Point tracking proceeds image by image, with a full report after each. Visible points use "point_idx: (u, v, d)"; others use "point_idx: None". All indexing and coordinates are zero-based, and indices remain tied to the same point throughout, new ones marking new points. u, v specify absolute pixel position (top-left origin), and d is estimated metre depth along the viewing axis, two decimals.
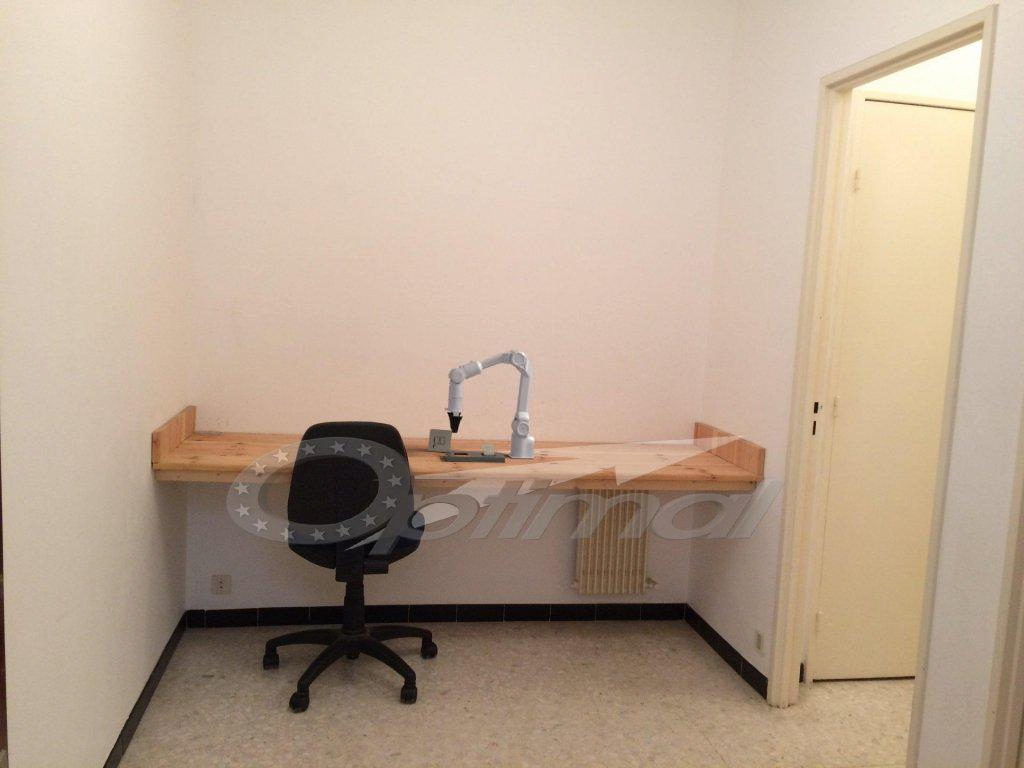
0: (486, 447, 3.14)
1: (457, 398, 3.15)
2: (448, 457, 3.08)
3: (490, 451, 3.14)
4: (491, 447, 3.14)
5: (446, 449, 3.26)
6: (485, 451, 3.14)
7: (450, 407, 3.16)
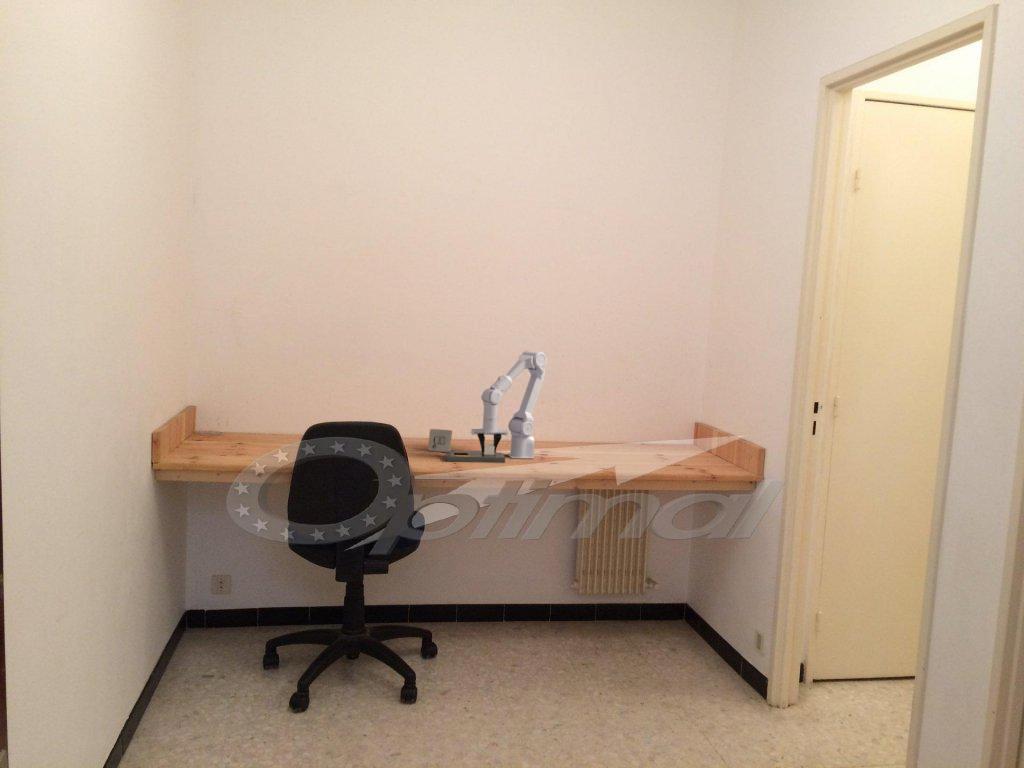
0: (486, 447, 3.14)
1: (483, 418, 3.13)
2: (448, 457, 3.08)
3: (490, 451, 3.14)
4: (491, 447, 3.14)
5: (446, 449, 3.26)
6: (485, 451, 3.14)
7: None
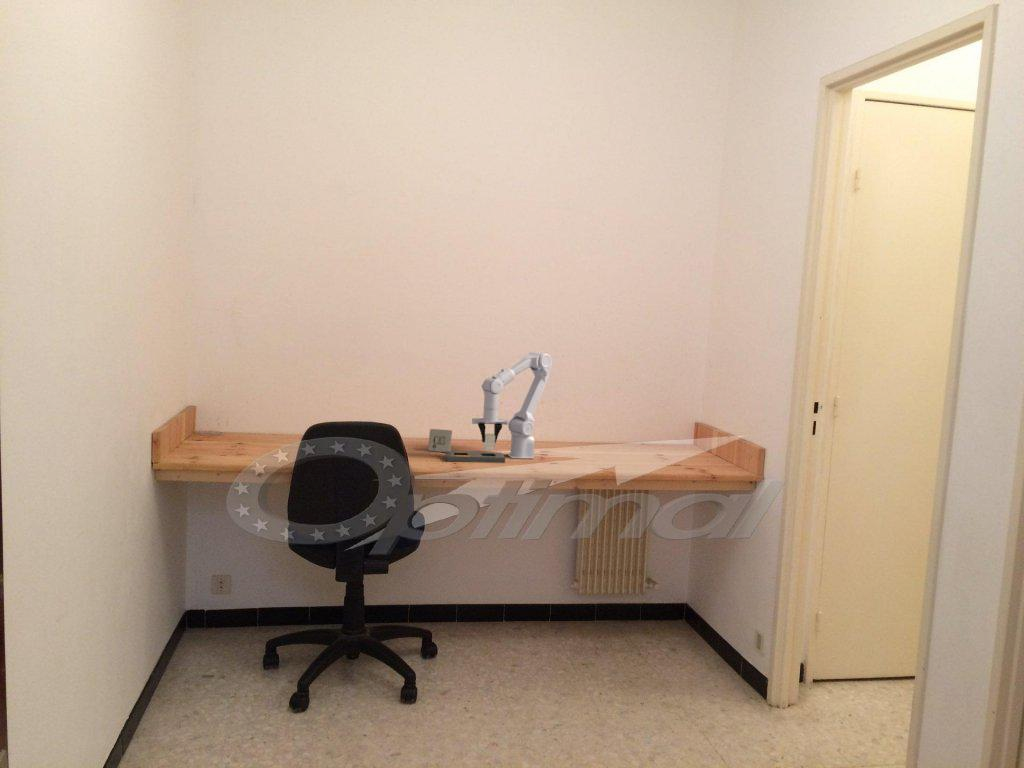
0: (487, 436, 3.13)
1: (484, 408, 3.13)
2: (448, 457, 3.08)
3: (491, 440, 3.14)
4: (492, 436, 3.13)
5: (446, 449, 3.26)
6: (486, 440, 3.13)
7: None
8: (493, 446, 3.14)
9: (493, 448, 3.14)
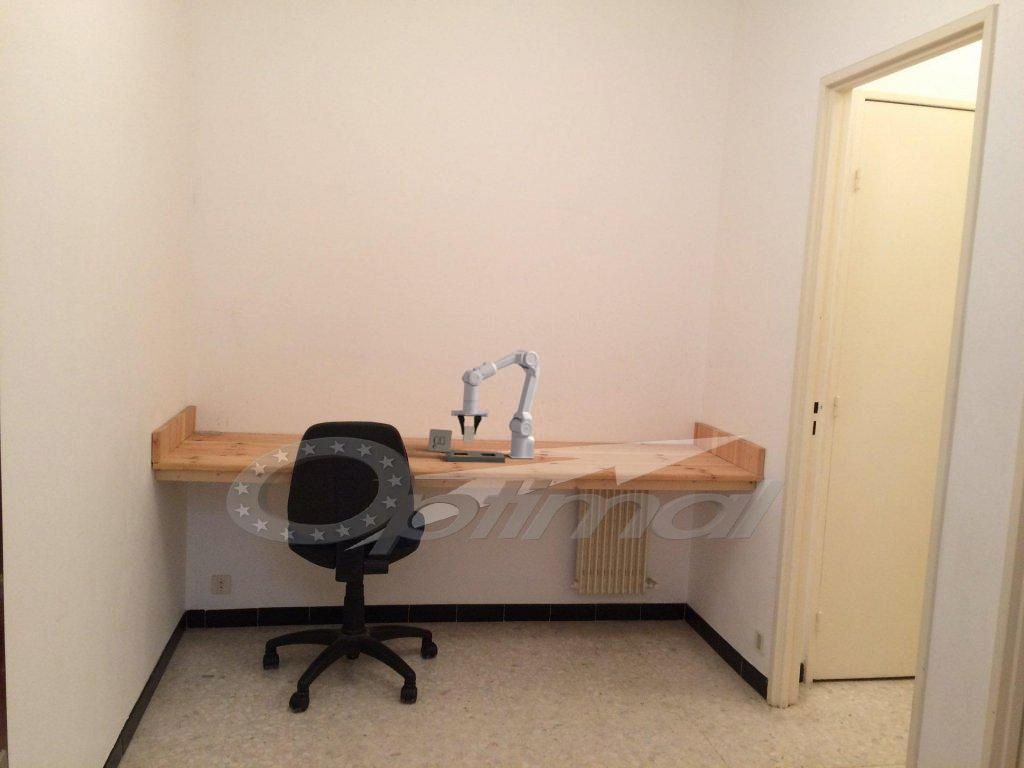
0: (466, 429, 3.11)
1: (463, 400, 3.11)
2: (448, 457, 3.08)
3: (470, 433, 3.12)
4: (471, 429, 3.11)
5: (446, 449, 3.26)
6: (465, 433, 3.11)
7: None
8: (472, 439, 3.12)
9: (472, 441, 3.12)
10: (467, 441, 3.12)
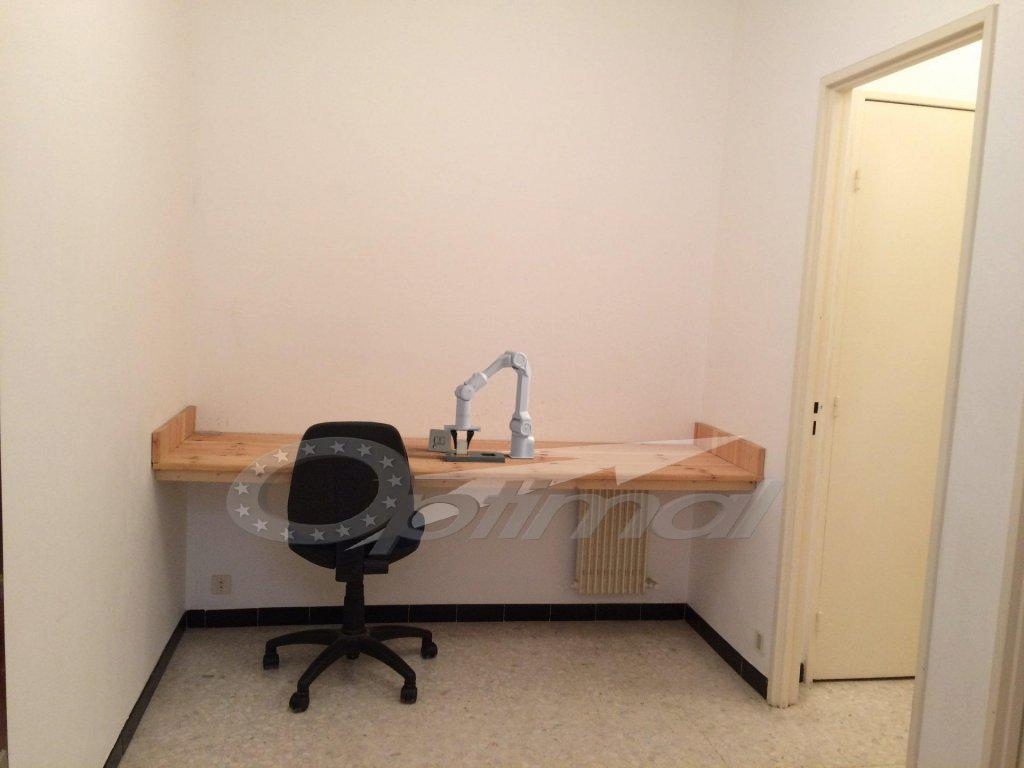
0: (459, 443, 3.11)
1: (456, 414, 3.11)
2: (448, 457, 3.08)
3: (463, 447, 3.12)
4: (464, 443, 3.12)
5: (446, 449, 3.26)
6: (458, 447, 3.11)
7: None
8: (465, 453, 3.12)
9: None
10: None
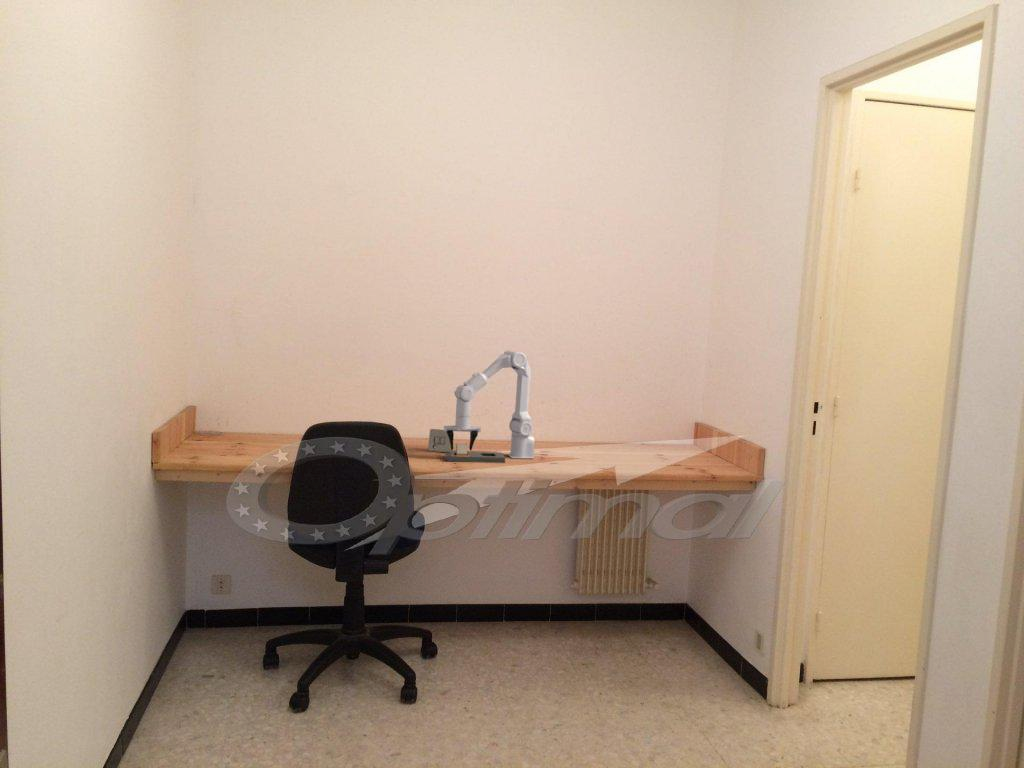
0: (459, 446, 3.11)
1: (456, 415, 3.11)
2: (448, 457, 3.08)
3: (463, 450, 3.12)
4: (464, 446, 3.12)
5: (446, 449, 3.26)
6: (458, 450, 3.12)
7: None
8: None
9: None
10: None
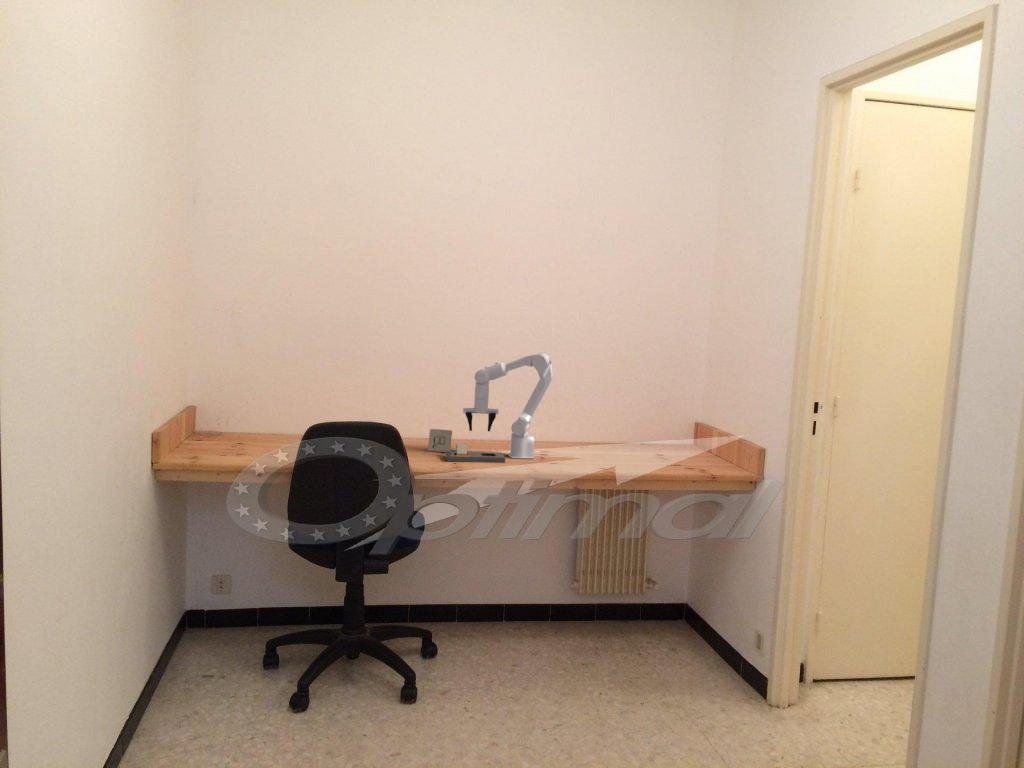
0: (459, 446, 3.11)
1: (475, 397, 3.25)
2: (448, 457, 3.08)
3: (463, 450, 3.12)
4: (464, 446, 3.12)
5: (446, 449, 3.26)
6: (458, 450, 3.12)
7: None
8: None
9: None
10: None
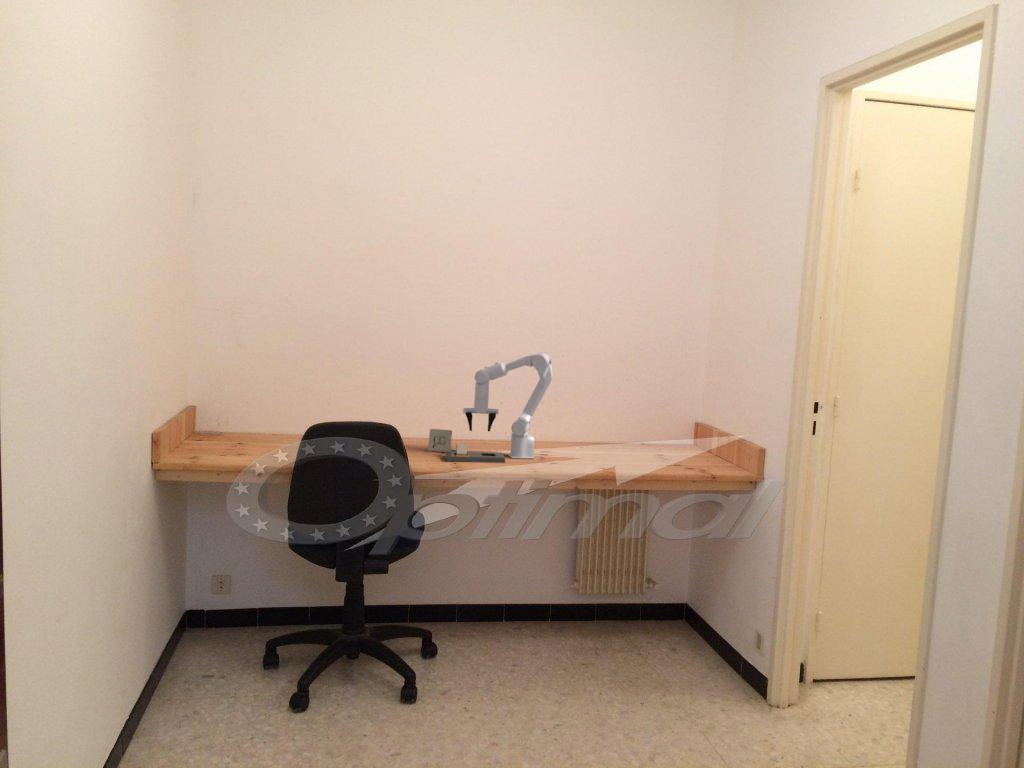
0: (459, 446, 3.11)
1: (475, 397, 3.25)
2: (448, 457, 3.08)
3: (463, 450, 3.12)
4: (464, 446, 3.12)
5: (446, 449, 3.26)
6: (458, 450, 3.12)
7: None
8: None
9: None
10: None
